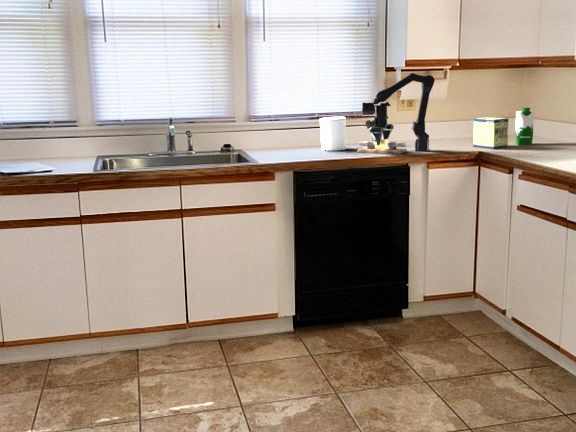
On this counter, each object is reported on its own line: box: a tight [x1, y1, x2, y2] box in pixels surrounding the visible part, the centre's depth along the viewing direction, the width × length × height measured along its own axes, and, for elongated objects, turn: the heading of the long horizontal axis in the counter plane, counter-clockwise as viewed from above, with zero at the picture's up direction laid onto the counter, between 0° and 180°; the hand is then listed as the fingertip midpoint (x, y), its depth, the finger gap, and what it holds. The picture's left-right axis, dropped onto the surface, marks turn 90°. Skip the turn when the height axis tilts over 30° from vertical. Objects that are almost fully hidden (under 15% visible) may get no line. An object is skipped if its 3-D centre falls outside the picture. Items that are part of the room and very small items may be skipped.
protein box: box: [472, 116, 509, 150], centre depth 365 cm, size 10×16×16 cm
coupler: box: [375, 139, 389, 149], centre depth 364 cm, size 4×5×5 cm
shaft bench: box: [356, 140, 408, 155], centre depth 364 cm, size 26×10×5 cm, turn 59°
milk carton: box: [514, 107, 535, 146], centre depth 371 cm, size 9×9×20 cm
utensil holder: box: [319, 116, 347, 152], centre depth 382 cm, size 15×15×18 cm
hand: (381, 144), depth 364 cm, fingers open, 9 cm apart
